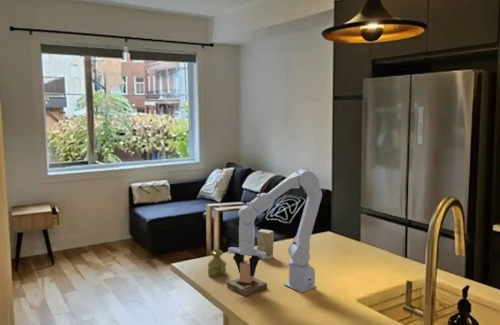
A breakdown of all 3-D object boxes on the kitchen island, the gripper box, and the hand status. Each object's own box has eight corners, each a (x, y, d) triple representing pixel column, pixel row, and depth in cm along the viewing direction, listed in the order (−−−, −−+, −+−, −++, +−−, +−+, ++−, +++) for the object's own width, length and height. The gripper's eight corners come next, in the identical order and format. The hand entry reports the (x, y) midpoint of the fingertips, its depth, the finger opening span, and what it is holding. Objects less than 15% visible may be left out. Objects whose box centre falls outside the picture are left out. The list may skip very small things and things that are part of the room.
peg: (254, 279, 165) (254, 261, 164) (249, 283, 161) (249, 264, 160) (244, 277, 167) (244, 259, 166) (239, 281, 163) (239, 263, 162)
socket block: (267, 288, 163) (267, 283, 163) (245, 296, 157) (245, 290, 156) (248, 280, 171) (248, 275, 171) (227, 287, 165) (227, 282, 164)
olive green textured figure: (218, 278, 173) (217, 253, 172) (204, 274, 178) (203, 250, 177) (230, 272, 179) (229, 249, 178) (216, 269, 184) (215, 245, 183)
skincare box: (256, 257, 197) (256, 231, 196) (260, 254, 201) (260, 228, 200) (269, 259, 195) (269, 232, 193) (273, 257, 198) (273, 230, 197)
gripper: (269, 238, 162) (269, 273, 164) (234, 233, 168) (234, 267, 170) (261, 243, 156) (261, 280, 158) (225, 238, 162) (225, 274, 164)
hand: (246, 274), depth 163 cm, fingers closed on peg, 4 cm apart
